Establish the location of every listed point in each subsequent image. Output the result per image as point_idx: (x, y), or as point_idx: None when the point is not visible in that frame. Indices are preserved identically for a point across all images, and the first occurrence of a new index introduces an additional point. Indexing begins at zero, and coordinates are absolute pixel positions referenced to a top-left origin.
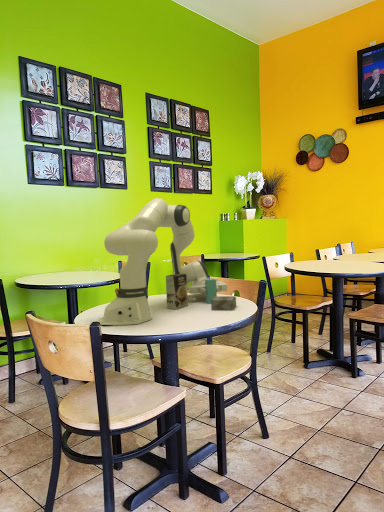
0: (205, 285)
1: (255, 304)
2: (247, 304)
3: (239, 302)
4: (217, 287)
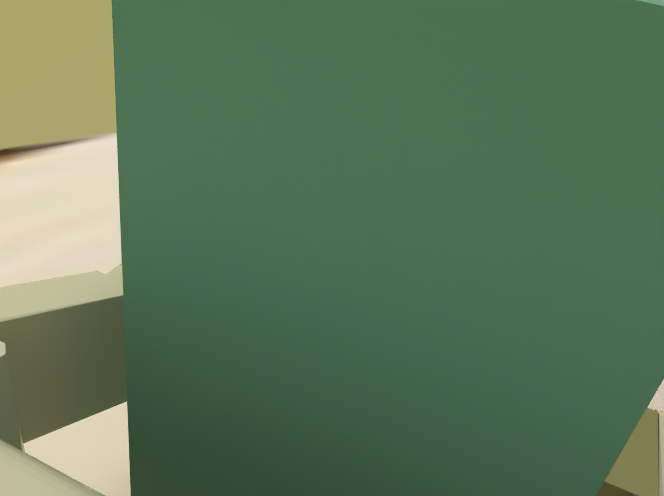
0: (611, 452)
1: (72, 145)
2: (108, 183)
3: (13, 274)
4: (100, 272)
